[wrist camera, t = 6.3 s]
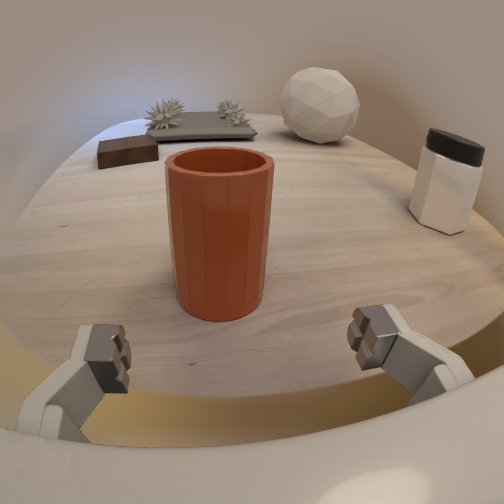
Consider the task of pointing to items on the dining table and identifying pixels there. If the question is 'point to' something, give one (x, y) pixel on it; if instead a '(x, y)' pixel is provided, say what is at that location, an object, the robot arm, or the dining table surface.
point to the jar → (446, 181)
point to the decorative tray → (198, 123)
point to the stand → (127, 151)
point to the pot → (219, 228)
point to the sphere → (319, 105)
